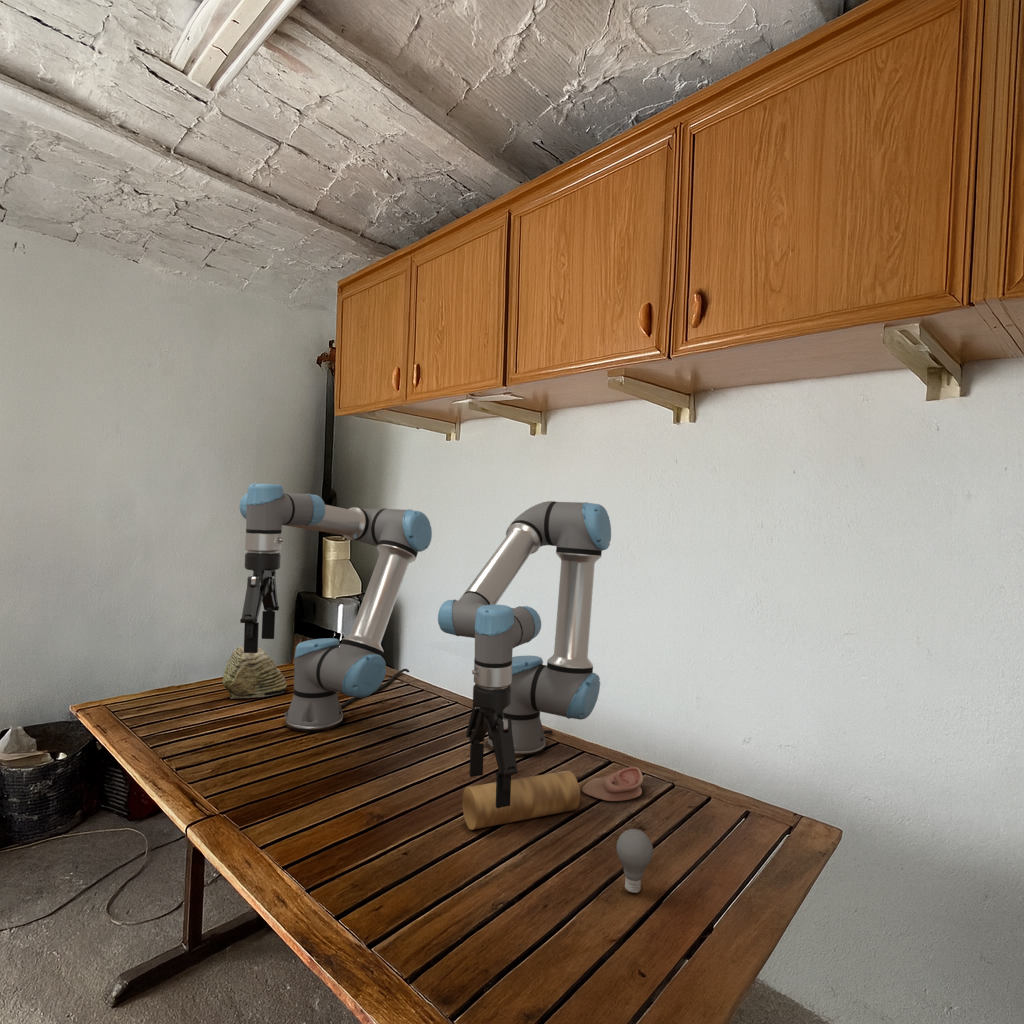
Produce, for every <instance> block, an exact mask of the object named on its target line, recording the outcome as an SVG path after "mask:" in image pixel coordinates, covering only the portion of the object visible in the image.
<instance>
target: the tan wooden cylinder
mask: <svg viewBox="0 0 1024 1024" xmlns="http://www.w3.org/2000/svg"><path fill="white" fill-rule="evenodd" d="M461 799H462V800H461V801H462V813H463V818H464V822H465V824H466V826H467V828H468V829H469V830H470V831H475V830H479V829H485V828H489V827H494V826H495V827H496V826H500V825H505V824H510V823H516V822H521V821H526V820H530V819H536V818H542V817H547V816H551V815H552V816H553V815H557V814H562V813H566V812H567V813H568V812H573V811H576V810H577V809H578V808H579V806H580V802H581V789H580V786H579V782H578V780H577V777H576V776H575V774H574V773H573V772H572V771H570V770H564V771H563V770H562V771H557V772H551V773H543V774H538V775H532V776H525V777H520V778H514V779H511V796H510V806H506V807H501V808H496V781H495V782H489V783H483V784H477V785H471V786H465V788H464V789H463V792H462V798H461Z"/></svg>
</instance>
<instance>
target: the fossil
mask: <svg viewBox="0 0 1024 1024" xmlns="http://www.w3.org/2000/svg"><path fill="white" fill-rule="evenodd" d="M222 676H223V677H222V685H223V687H224V688H225V690H226V691H228V693H229V698H230V699H250V698H264V697H271V696H275V695H281V694H284V693H285V691H286V689H287V687H288V686H287V680H286V678H285V676H284V674H283V673H282V672H281V669H279V668H278V667H277V665H276V663H275V662H274V660H273V659H272V658H271V657H270V656H269V655H268V654H267V653H266V652H265V650H264V649H263V648H260V647H258V652H257V653H244V646H238V647H237V648H236V649H235V650H233V651H232V653H231V656H230V657H229V659H228V660H227V663H226V666H225V668H224V671H223V675H222Z"/></svg>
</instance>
